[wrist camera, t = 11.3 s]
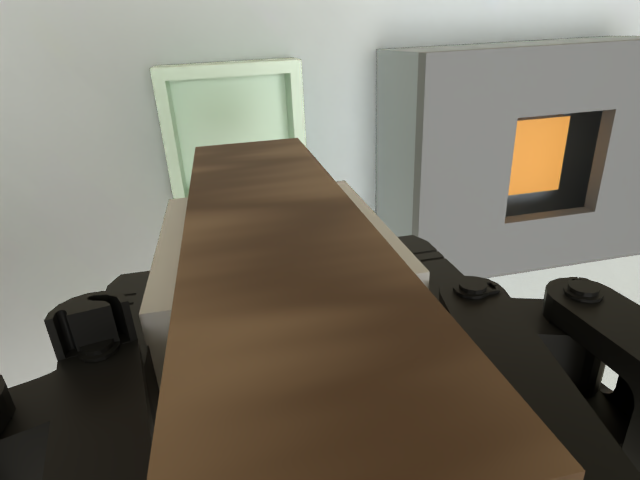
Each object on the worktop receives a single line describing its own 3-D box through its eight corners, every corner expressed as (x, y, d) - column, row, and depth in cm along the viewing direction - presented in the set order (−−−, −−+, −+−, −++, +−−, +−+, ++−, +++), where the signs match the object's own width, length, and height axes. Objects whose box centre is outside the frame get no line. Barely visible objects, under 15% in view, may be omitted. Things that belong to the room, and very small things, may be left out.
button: (477, 188, 33) (492, 197, 32) (484, 117, 31) (500, 122, 30) (539, 181, 34) (558, 189, 32) (550, 111, 32) (570, 116, 30)
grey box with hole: (375, 240, 37) (415, 289, 30) (376, 49, 31) (426, 52, 24) (575, 213, 40) (655, 252, 33) (609, 36, 34) (715, 35, 27)
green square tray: (178, 197, 32) (175, 212, 30) (155, 65, 29) (149, 68, 26) (301, 184, 34) (309, 197, 31) (292, 57, 30) (301, 59, 28)
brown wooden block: (210, 241, 20) (206, 799, 5) (195, 146, 18) (131, 578, 4) (303, 229, 20) (526, 694, 6) (297, 137, 19) (585, 471, 4)
